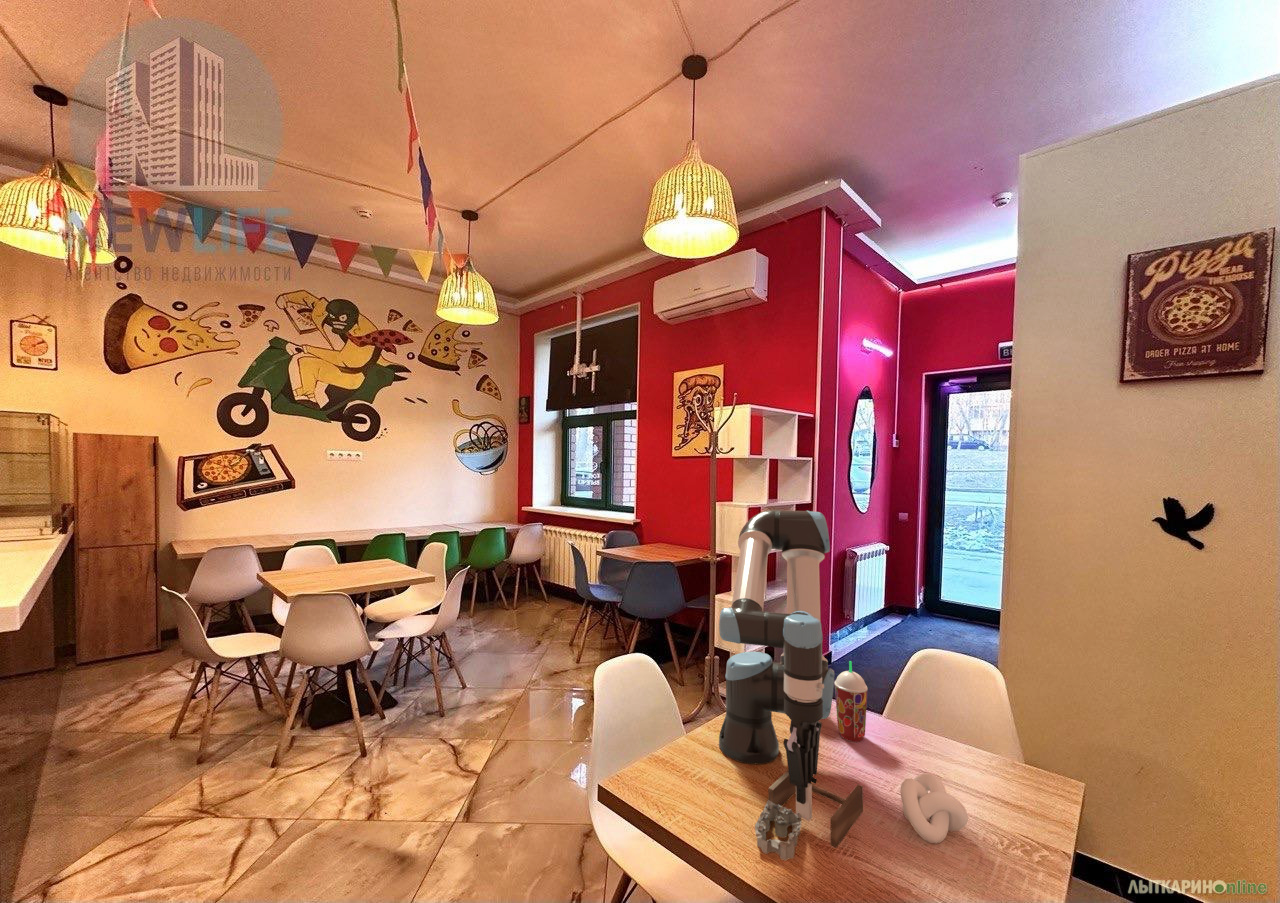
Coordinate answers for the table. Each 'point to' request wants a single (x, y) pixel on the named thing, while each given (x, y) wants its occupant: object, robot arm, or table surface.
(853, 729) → the smoothie
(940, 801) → the white knot sculpture
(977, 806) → the table surface
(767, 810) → the egg carton
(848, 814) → the brown u-shaped frame
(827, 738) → the table surface
